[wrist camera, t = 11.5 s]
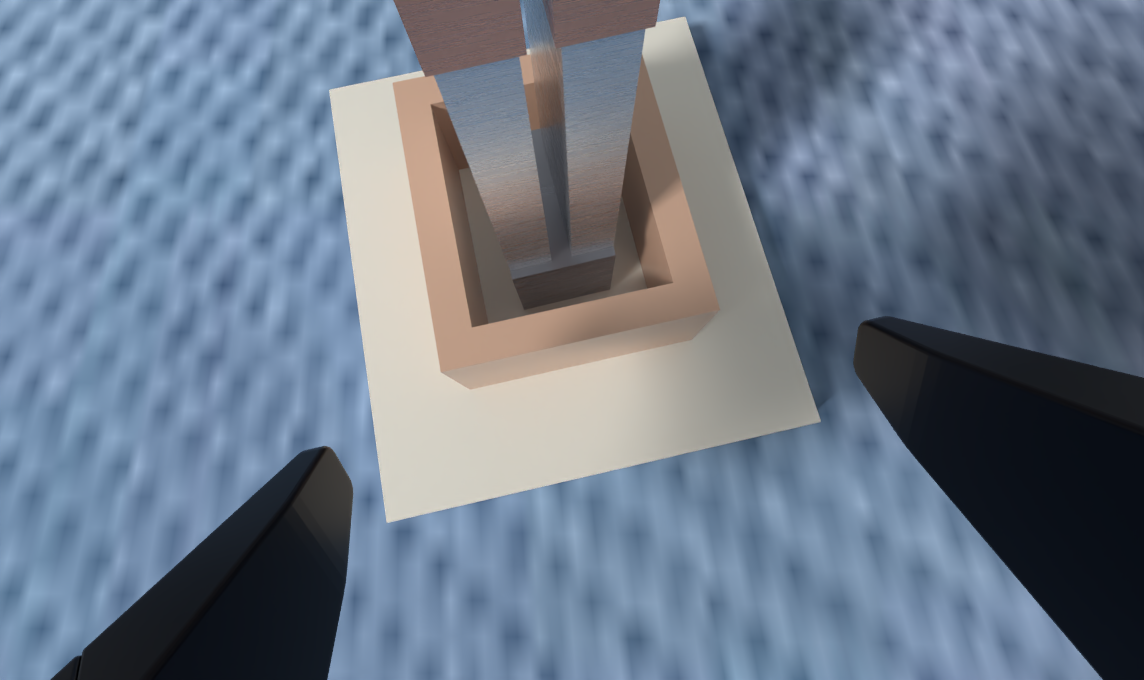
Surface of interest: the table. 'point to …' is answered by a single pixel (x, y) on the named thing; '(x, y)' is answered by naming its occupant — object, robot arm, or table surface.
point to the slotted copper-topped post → (541, 125)
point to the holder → (566, 328)
